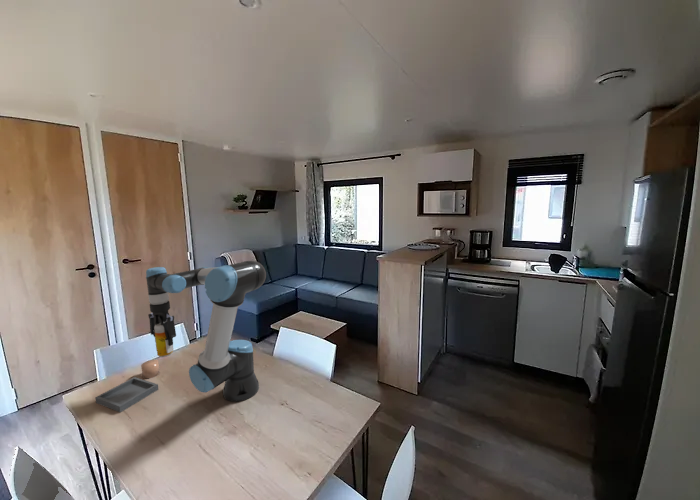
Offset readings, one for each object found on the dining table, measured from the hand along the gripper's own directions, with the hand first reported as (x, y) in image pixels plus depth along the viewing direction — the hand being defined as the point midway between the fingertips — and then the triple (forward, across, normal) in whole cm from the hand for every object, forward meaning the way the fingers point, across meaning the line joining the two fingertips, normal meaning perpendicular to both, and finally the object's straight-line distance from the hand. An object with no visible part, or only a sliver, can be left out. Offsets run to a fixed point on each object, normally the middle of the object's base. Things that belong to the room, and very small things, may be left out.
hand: (165, 350), depth 134 cm
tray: (+17, +10, +12) cm, 23 cm away
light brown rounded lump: (+17, +17, -3) cm, 24 cm away
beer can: (+2, 0, 0) cm, 2 cm away
